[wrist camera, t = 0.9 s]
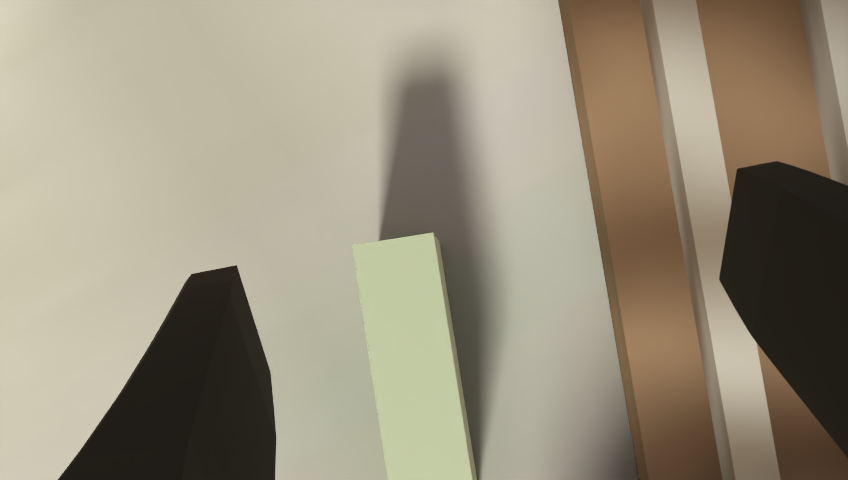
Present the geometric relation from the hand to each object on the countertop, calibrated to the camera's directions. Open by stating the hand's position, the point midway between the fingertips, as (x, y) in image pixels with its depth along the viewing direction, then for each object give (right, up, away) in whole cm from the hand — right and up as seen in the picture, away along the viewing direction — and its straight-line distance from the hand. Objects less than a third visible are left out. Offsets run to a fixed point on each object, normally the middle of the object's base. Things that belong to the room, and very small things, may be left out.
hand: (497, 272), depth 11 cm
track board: (+10, 0, +13) cm, 16 cm away
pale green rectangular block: (-1, -4, +13) cm, 14 cm away
